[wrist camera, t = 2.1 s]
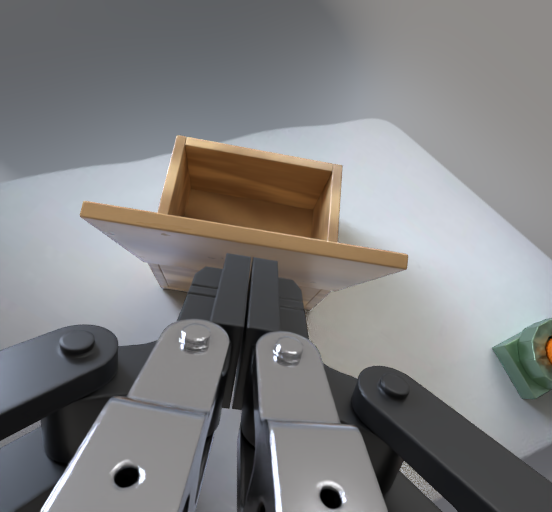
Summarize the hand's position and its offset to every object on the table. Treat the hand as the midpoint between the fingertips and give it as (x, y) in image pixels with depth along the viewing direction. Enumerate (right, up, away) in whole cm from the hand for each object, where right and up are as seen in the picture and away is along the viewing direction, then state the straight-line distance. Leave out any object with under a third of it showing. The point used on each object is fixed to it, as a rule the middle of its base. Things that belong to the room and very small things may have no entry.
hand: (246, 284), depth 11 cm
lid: (-1, +1, +10) cm, 10 cm away
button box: (+25, -9, +25) cm, 37 cm away
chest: (-2, +2, +25) cm, 25 cm away
